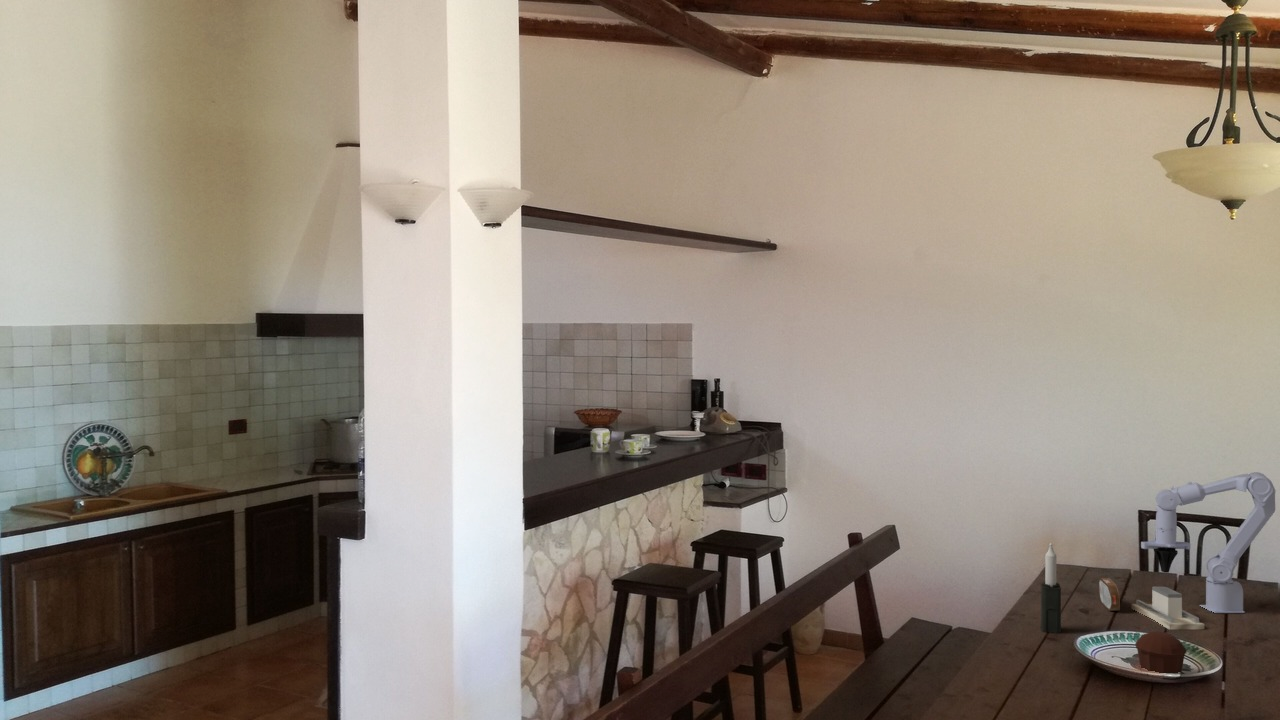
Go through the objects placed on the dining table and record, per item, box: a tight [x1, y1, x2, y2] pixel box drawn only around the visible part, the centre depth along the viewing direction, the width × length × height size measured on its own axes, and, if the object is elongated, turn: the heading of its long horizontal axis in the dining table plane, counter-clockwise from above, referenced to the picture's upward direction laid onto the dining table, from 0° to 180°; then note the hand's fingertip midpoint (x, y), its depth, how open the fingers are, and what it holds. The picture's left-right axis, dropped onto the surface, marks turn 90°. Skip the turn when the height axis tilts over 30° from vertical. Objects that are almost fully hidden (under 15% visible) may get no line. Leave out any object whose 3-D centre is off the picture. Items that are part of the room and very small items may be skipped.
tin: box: [1098, 577, 1121, 612], centre depth 308 cm, size 15×3×8 cm, turn 168°
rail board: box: [1131, 599, 1205, 631], centre depth 295 cm, size 10×22×3 cm, turn 0°
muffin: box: [1135, 630, 1187, 673], centre depth 247 cm, size 12×11×10 cm
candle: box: [1040, 542, 1062, 634], centre depth 284 cm, size 5×5×25 cm
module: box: [1151, 586, 1183, 618], centre depth 295 cm, size 4×9×7 cm, turn 0°
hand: (1165, 571), depth 311 cm, fingers closed
